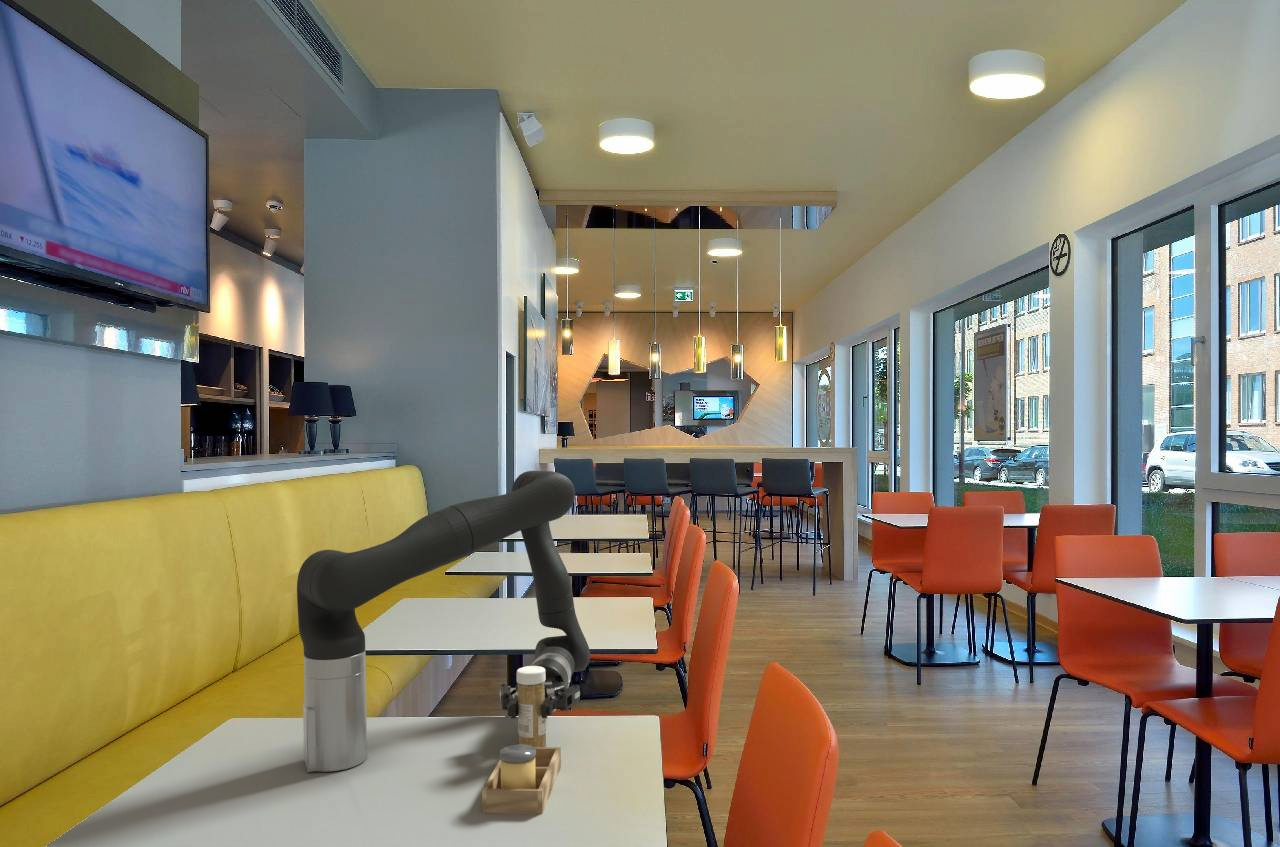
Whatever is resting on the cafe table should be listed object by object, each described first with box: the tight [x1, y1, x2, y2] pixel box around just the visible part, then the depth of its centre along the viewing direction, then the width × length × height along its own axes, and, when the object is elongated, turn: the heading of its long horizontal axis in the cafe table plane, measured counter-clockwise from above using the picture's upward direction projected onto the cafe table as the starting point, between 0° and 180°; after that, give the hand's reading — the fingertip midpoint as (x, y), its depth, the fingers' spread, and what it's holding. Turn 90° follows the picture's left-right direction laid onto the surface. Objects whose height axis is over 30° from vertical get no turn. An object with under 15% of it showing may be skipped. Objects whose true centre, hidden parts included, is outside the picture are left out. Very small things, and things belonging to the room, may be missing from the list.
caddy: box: [481, 746, 562, 815], centre depth 124 cm, size 16×8×4 cm, turn 176°
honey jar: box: [499, 744, 536, 789], centre depth 120 cm, size 5×5×7 cm
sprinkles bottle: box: [516, 665, 547, 747], centre depth 137 cm, size 5×5×13 cm
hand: (528, 711), depth 134 cm, fingers closed on sprinkles bottle, 4 cm apart
